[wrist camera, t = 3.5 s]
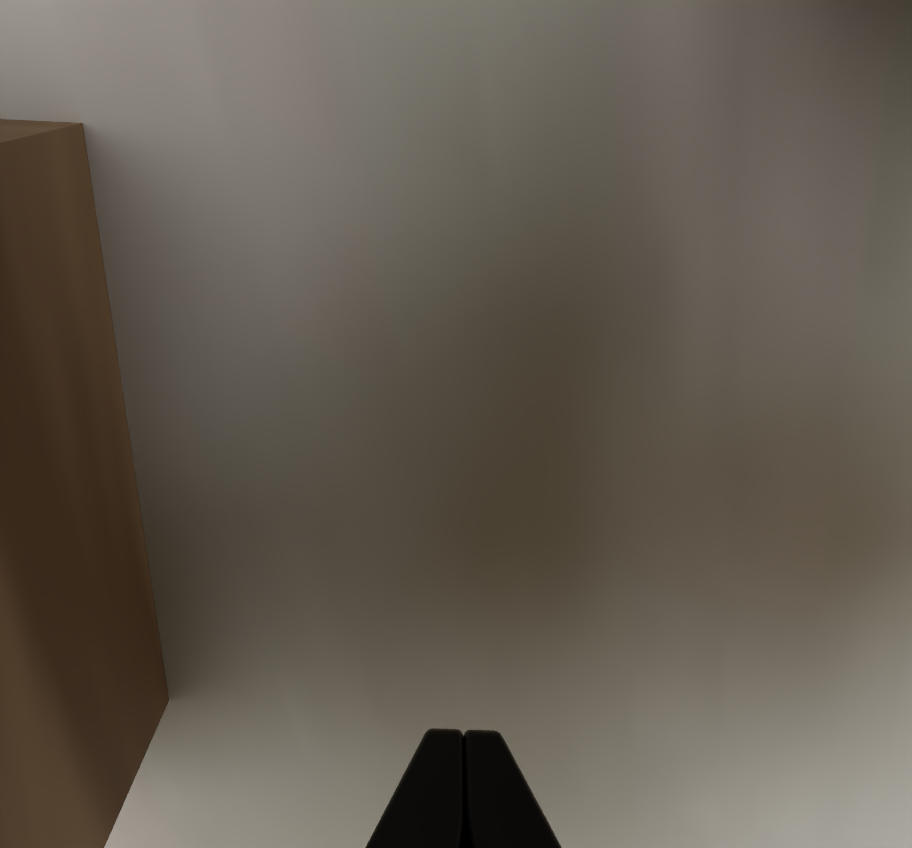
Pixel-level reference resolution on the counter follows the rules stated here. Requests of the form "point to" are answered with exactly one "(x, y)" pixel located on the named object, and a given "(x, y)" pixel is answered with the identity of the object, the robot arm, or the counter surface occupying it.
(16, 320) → the slab
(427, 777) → the robot arm
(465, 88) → the counter surface
